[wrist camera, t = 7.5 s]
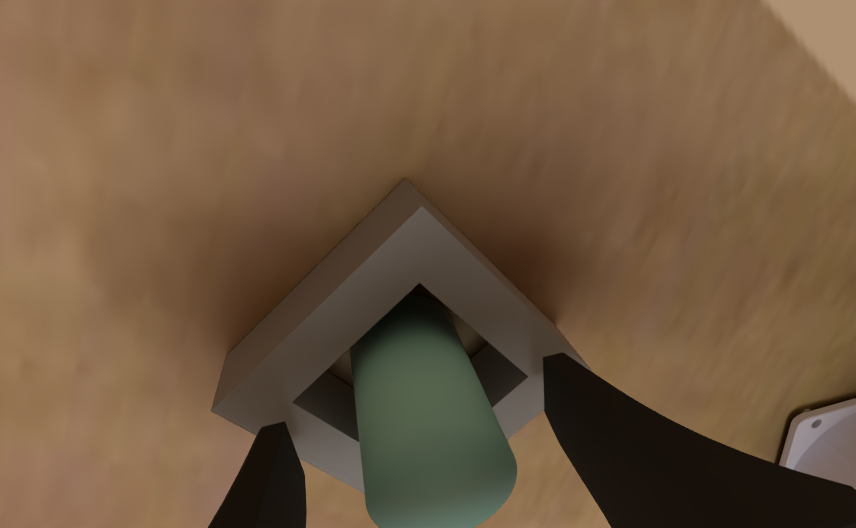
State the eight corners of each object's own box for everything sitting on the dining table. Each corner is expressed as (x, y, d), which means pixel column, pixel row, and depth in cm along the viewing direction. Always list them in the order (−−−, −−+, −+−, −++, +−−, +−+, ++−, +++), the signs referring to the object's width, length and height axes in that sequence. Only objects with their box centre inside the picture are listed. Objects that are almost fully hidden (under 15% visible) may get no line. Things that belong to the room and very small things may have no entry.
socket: (405, 177, 14) (421, 206, 12) (556, 327, 18) (591, 370, 15) (226, 356, 15) (210, 411, 13) (400, 461, 19) (411, 518, 17)
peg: (445, 282, 16) (510, 410, 11) (460, 368, 18) (522, 514, 12) (337, 310, 16) (348, 456, 10) (363, 394, 17) (383, 557, 12)
